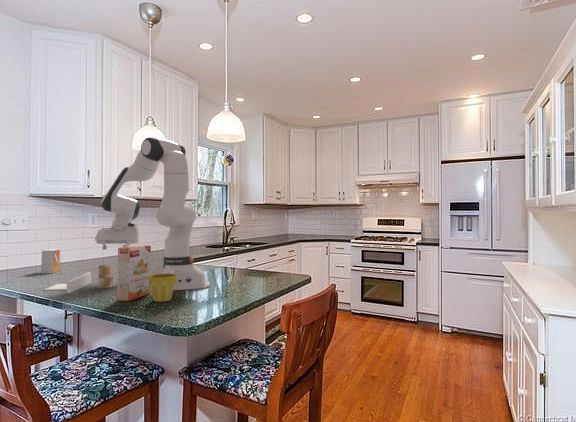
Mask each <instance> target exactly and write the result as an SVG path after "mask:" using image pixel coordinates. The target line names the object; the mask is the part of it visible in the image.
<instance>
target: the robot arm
mask: <svg viewBox="0 0 576 422" xmlns="http://www.w3.org/2000/svg"><path fill="white" fill-rule="evenodd" d="M160 163H162V164H163V181H164V183H163V184H164V185H163V187H164V188H163V194H162V195H163V196H162V200H161V203H160V206H159V207H158V208H157V211H156V213H155V215H156V216H155V218H156V220H157V222H158V223H159V224H160V225H162V226H164V227H167V228H169V229H168V233H167V236H166V237H165V239H164V256H163V259H162V260H163V261H162V267H163V272H162V274H176V283H175V284H174V289H173V291H181V290H198V289H206V288H209V287H210V285H211V282H210V281H208V280H206V275H205V272H204V271H203V270H202V269H201V268H199V266H197V265H196V264H194V261H195V259H194V257H192V256H190V238H191V232H192V230H193V225H194V223H195V221H196V219H197V212H196V210H195V209H194V207H192V206H190V205H189V204H185V203H186V197H187V195H188V193H189V191H190V187H189V186H190V185H189V183H190V181H189V179H190V177H189V165H188V160H187V157H186V149H185V147H184V145H183V144H181V143H178V142H174V141H172V140H168V139H164V138H157V137H154V136H153V137H145V138H144V139H143V141H142V143H141V145H140V149H139V151H138V153H137V155H136V157H135V160H134V161H133V163H132V164H131V165H130V166H125V167H124V168H122V170H121V172H120V173H119V175H117V177H116V179H115V180H114V182H113V183H112V185H111V187H110V188H109V189H108V191H107V192H106V193H105V194H104V196H103V197H102V198H101V203H100V205H101V208H102V209H103V210H104V211H106V212H110V213H114V220H113V221H112V224H111V227H108V228H105V227H102V228H100V229H98V231H97V233H96V235H95V238H94V240H95V243H96V244H98V245H100V244H101V245H102V250H107V249H108V246H107V245H110V244H113V245H116V244H117V245H118V244H119V245H121V244H123V245H122V247H129V246H131V244H138V243H139V242H140V241H139V239H140V235H139V228H138V225H137V224H136V223H133V221H135V219H137V218H138V216H139V213H140V209H141V204H140V202H139V200H137V199H134V198H131V197H127V196H125V195H121V194H118V193H119V191H120V190H121V188H122V187H123V185H124V184H125V183H128V182H146V181H149V180H151V179H153V177H154V176H155V174H156V172H157V170H158V168H159V164H160Z"/></svg>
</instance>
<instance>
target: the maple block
mask: <svg viewBox="0 0 576 422" xmlns="http://www.w3.org/2000/svg"><path fill="white" fill-rule="evenodd" d="M97 276H98V277H97V278H98V279H97V281H98V282H97V284H98V287H97V288H98V289H108V288H109V289H111V288H112V287H113V286H114V285H113V284H114V264H100V265H98V275H97Z"/></svg>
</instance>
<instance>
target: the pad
mask: <svg viewBox="0 0 576 422" xmlns="http://www.w3.org/2000/svg"><path fill="white" fill-rule="evenodd" d="M43 291H44V292H47V291H48V292H50V291H55V292H56V291H67V283H56V284H54V285H52V286H49V287H46V288H44V289H43Z"/></svg>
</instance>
